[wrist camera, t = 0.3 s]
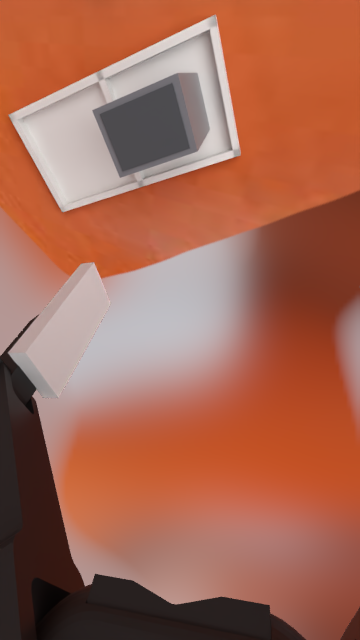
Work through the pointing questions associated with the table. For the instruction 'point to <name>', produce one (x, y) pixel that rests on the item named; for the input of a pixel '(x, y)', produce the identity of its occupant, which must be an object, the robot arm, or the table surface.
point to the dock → (135, 120)
